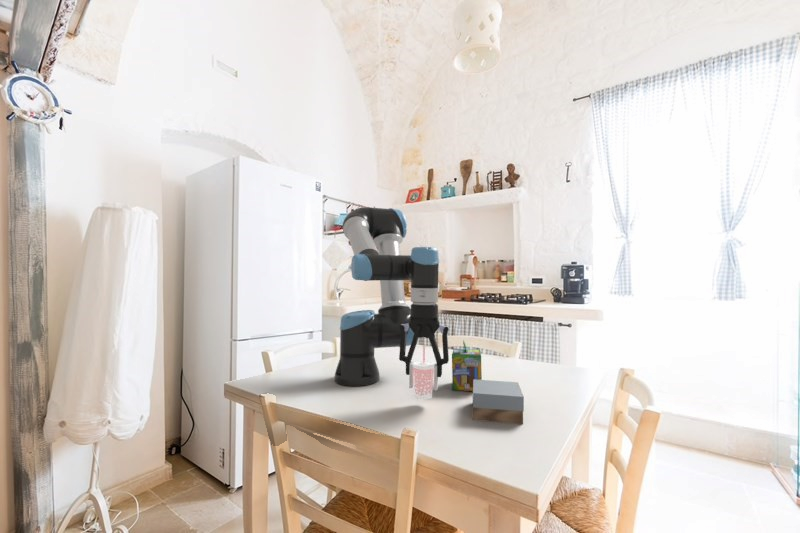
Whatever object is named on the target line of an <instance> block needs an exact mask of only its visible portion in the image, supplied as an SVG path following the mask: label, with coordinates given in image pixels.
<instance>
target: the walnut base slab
mask: <svg viewBox="0 0 800 533" xmlns="http://www.w3.org/2000/svg"><path fill="white" fill-rule="evenodd" d="M472 420H473V421H484V422H492V423H493V422H494V423H495V422H496V423H504V424H507V423H508V424H515V425H516V424H517V425H524V411H513V410H500V409H488V408H475V407H473V405H472Z"/></svg>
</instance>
